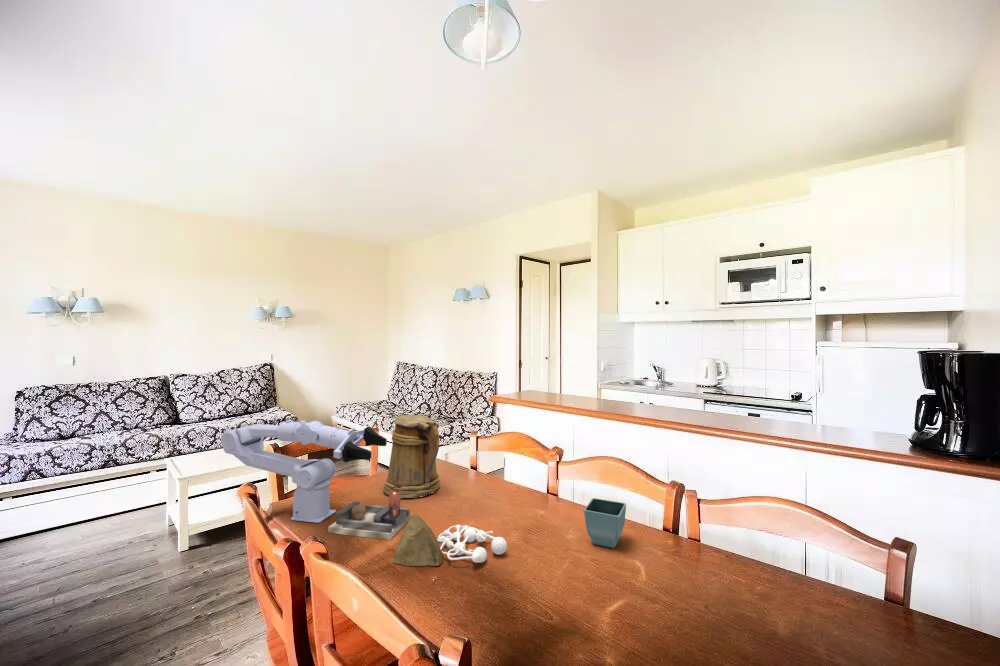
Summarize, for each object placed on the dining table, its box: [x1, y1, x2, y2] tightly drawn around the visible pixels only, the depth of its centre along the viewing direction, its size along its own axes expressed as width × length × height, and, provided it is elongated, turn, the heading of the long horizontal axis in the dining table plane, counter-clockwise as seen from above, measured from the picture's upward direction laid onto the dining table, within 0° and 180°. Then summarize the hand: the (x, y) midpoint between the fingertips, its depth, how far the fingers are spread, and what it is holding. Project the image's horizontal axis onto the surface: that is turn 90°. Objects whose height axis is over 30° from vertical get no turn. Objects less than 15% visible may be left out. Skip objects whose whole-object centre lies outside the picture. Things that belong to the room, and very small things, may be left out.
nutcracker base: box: [327, 501, 411, 541], centre depth 112 cm, size 18×12×4 cm, turn 76°
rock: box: [392, 513, 444, 567], centre depth 93 cm, size 11×9×10 cm
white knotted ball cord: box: [436, 524, 508, 564], centre depth 100 cm, size 19×14×4 cm
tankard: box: [383, 414, 441, 499], centre depth 138 cm, size 18×24×25 cm
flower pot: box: [583, 497, 627, 549], centre depth 102 cm, size 9×9×9 cm
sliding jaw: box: [374, 490, 406, 528], centre depth 110 cm, size 6×8×8 cm
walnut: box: [351, 503, 366, 520], centre depth 112 cm, size 4×4×4 cm
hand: (378, 448), depth 113 cm, fingers open, 7 cm apart
